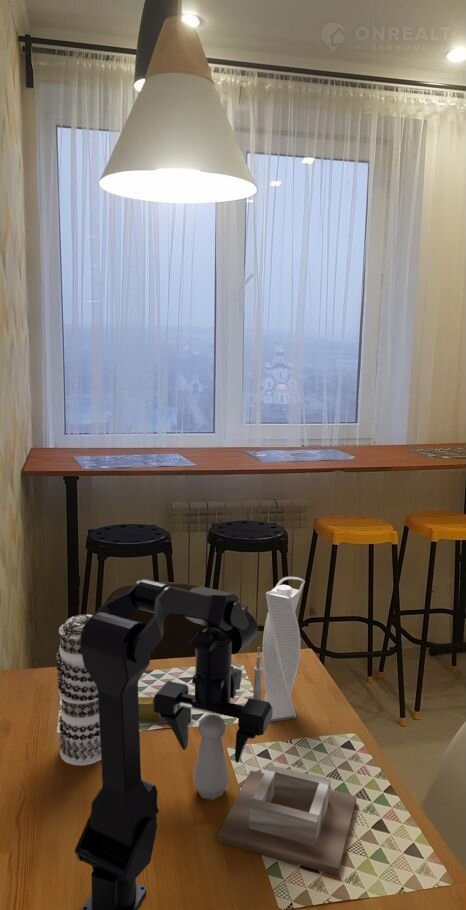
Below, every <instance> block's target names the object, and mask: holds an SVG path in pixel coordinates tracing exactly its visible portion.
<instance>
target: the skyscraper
mask: <svg viewBox="0 0 466 910" xmlns="http://www.w3.org/2000/svg"><path fill="white" fill-rule="evenodd" d="M288 580H298V581H301V585H300V587H299V589H296V588H294V587H293V588H292V587H291V586H290V585H287V584H282V583H283V582H284V581H288ZM305 583H306V580H305V579H303V578H301V577H299V576H284V577H283V578H281V579H280V580H279V581H278V582H277V583H276V585H275V586H274V587H273V588H272V589H271V590H270V591H266V592H265V598H266V604H267V605H266V606H267V610H268V612H267V615H266V619H265V624H264V629H263V638H262V653H261V655H262V656H261V655H260V652H261V651H260V650H261V649H260V648H261V647H257V655H256V666H254V679H253V681H254V683H253V688H252V690H253V692H252V693H253V694H252V695H253V697H252V699H256V700H261V701H266V702H269V703H270V705H271V706H272V708H273V711H272V719H271V721H270V723H273V722H280V721H285V720H292V719H296V718H297V714H296V711H295V707H294V705H293V702H292V697H291V695H292V690H293V687H294V684H295V681H296V677H297V674H298V669H299V664H300V660H301V659H300V657H301V633H300V626H299V622H298V618H297V614H296V613H297V612H296V611H297V606H298V604H299V600H300V597H301V594H302V590H303V588H304V586H305ZM261 657H262V667H261ZM262 673H263V682H264V683H263V684H264V691H265V695H264V698H263V700H262Z"/></svg>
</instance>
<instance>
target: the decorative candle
mask: <svg viewBox="0 0 466 910" xmlns="http://www.w3.org/2000/svg"><path fill="white" fill-rule="evenodd" d="M93 615H94V614H85V613H84V614H77V615H73V616H71V617H70V618H68V619H66V621H65V623H63V624H61V625H60V627H59V628H58V632H59V635H60V645H59V649H58V650H57V653H55V657H56V667H55V668H56V670H57V671H58V672H57V675H56V676H57V683H58V685H57V688H58V694H59V697H60V699H61V706H60V715H59V719H58V722H59V731H60V733H59V736H58V737H59V749H60V750H59V754H60V758H61V760H62V761H64V762H65V763H66V764H69V765H72V766H83V767H84V766H89V765H93V764H95V763H98V762H100V761H101V744H100V724H99V703H98V688H97V686H96V684H95V683H94V681H93V679H92V678H91V676H90V675H89V673H88V672H87V670H86V668H85V667H84V662H83V657H82V652H81V647H80V636H81V631H82V629H83V626H84V625H85V623H86V622H87V621H88V620H89V619H90V618H91V617H92V616H93Z"/></svg>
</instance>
